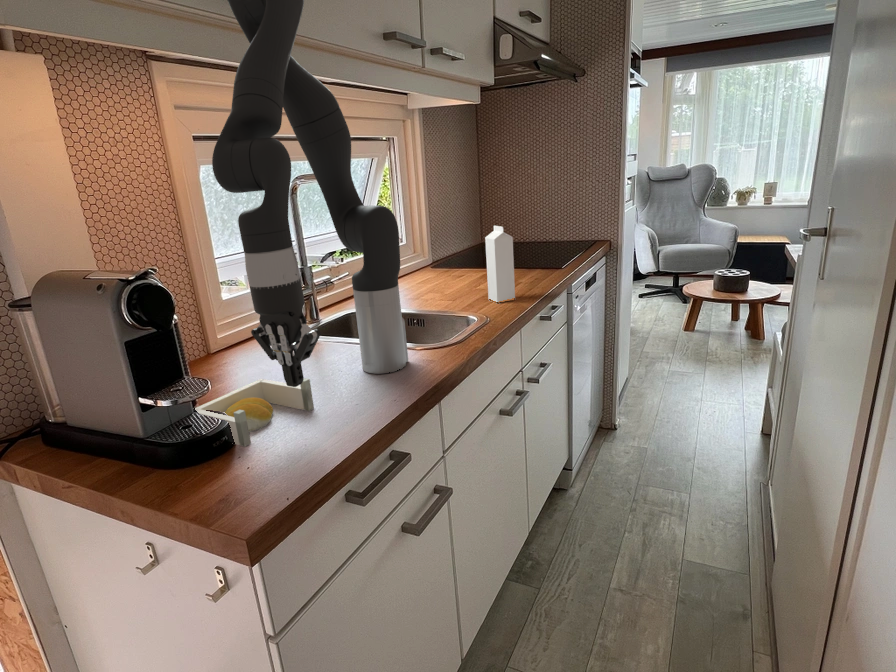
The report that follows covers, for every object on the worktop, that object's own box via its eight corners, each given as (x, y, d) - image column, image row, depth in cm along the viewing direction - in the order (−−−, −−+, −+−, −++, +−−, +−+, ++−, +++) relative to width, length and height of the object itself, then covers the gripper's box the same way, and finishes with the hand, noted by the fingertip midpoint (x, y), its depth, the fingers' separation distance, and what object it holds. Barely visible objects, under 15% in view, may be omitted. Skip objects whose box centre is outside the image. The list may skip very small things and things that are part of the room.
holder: (264, 398, 107) (259, 370, 105) (314, 408, 100) (309, 379, 99) (193, 432, 94) (186, 401, 93) (245, 446, 88) (238, 413, 86)
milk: (505, 297, 172) (503, 224, 166) (515, 301, 167) (512, 225, 161) (488, 300, 170) (484, 226, 164) (497, 304, 165) (493, 227, 158)
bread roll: (275, 409, 102) (271, 388, 101) (270, 430, 94) (266, 408, 92) (227, 415, 101) (223, 395, 99) (218, 437, 92) (214, 415, 91)
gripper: (324, 274, 85) (342, 380, 90) (261, 272, 91) (281, 372, 97) (289, 286, 79) (310, 399, 84) (224, 284, 85) (248, 389, 90)
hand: (295, 384), depth 90 cm, fingers closed
